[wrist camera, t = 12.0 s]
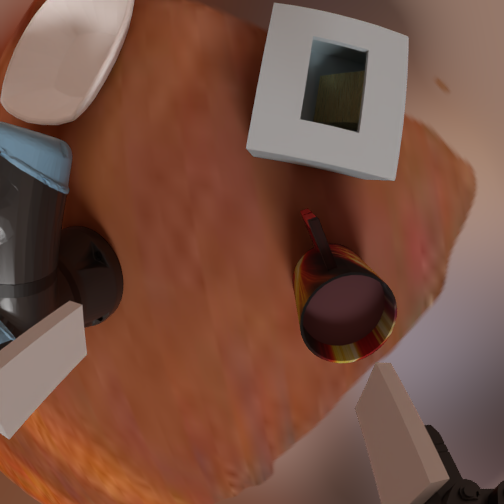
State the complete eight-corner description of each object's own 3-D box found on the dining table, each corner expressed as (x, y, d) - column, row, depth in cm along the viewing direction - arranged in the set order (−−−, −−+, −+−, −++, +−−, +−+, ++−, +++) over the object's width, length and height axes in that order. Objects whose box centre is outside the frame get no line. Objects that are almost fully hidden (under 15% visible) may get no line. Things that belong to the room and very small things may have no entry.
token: (312, 122, 32) (367, 123, 26) (320, 75, 30) (373, 70, 24) (329, 129, 33) (382, 131, 28) (336, 84, 32) (388, 81, 26)
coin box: (253, 156, 35) (246, 148, 26) (274, 41, 31) (273, 2, 22) (364, 179, 35) (394, 180, 25) (379, 65, 31) (408, 36, 21)
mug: (303, 204, 36) (318, 217, 25) (378, 275, 38) (414, 313, 26) (252, 262, 39) (243, 298, 27) (328, 326, 40) (345, 377, 28)
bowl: (113, 143, 36) (78, 138, 28) (25, 117, 35) (-10, 112, 27) (173, 14, 31) (152, -16, 23) (73, 9, 30) (46, -10, 22)
